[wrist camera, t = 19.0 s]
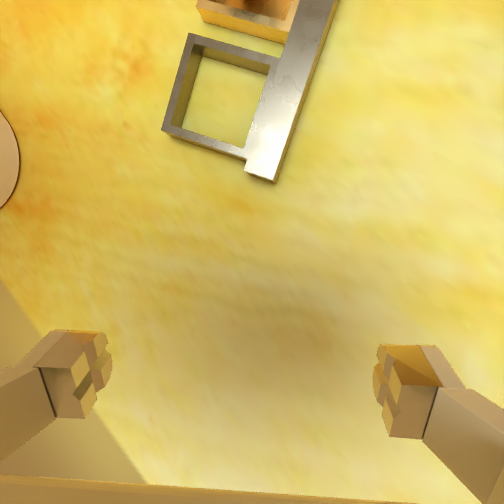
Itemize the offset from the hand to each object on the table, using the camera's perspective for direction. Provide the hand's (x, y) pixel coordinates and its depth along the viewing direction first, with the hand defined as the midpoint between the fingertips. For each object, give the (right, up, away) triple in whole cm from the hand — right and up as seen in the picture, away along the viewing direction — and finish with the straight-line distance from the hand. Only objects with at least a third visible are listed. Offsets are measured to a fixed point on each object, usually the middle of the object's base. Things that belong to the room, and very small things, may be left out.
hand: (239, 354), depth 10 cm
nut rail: (+1, +24, +24) cm, 33 cm away
